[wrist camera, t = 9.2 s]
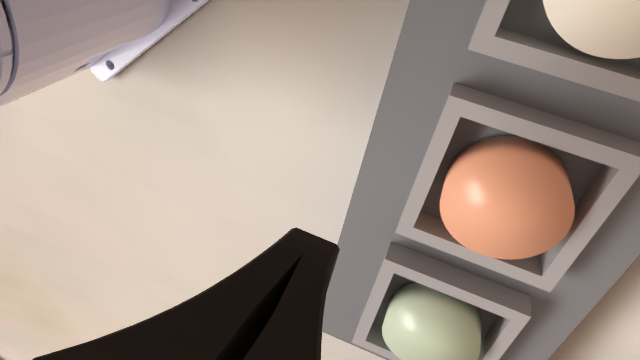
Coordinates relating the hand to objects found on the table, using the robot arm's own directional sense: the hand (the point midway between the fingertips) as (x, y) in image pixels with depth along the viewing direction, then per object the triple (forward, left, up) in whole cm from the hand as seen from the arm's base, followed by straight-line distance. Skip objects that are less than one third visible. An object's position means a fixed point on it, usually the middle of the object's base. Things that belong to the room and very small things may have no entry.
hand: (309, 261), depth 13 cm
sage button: (-2, -9, -7) cm, 12 cm away
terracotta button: (+4, -4, -7) cm, 9 cm away
